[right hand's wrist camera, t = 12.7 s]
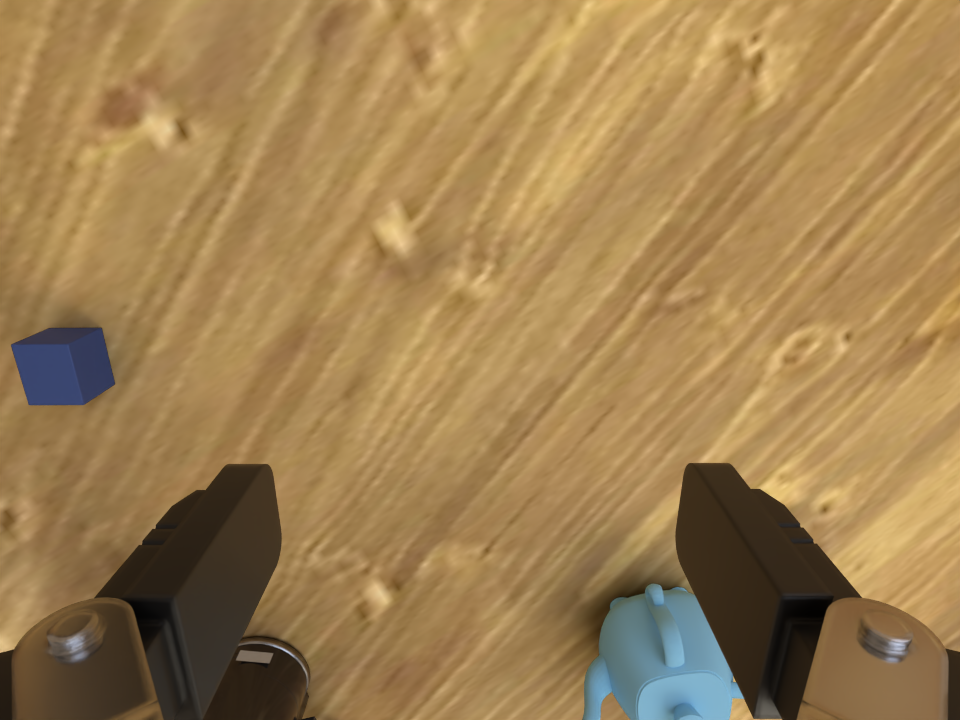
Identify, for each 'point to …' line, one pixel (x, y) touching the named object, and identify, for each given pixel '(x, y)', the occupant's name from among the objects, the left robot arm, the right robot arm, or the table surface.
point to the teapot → (660, 660)
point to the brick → (63, 366)
